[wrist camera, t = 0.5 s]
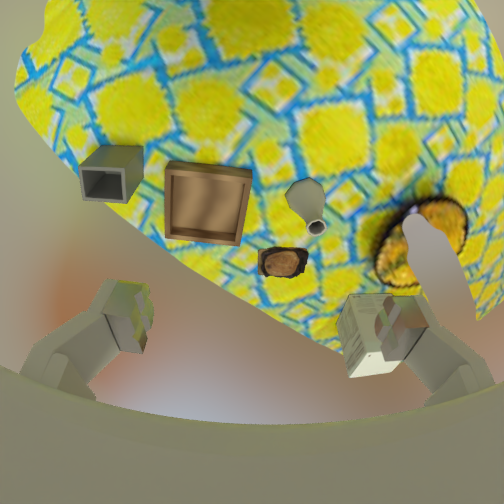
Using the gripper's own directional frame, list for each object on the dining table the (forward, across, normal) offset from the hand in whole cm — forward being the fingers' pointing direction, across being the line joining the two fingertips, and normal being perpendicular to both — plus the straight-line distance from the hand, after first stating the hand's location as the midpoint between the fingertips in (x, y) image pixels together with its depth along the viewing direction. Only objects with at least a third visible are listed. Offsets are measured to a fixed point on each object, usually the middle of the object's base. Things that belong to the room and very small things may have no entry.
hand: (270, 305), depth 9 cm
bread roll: (+43, -7, +29) cm, 52 cm away
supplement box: (+45, -33, +46) cm, 72 cm away
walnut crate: (+40, +8, +15) cm, 44 cm away
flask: (+41, -10, +13) cm, 44 cm away
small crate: (+39, +23, +7) cm, 46 cm away
